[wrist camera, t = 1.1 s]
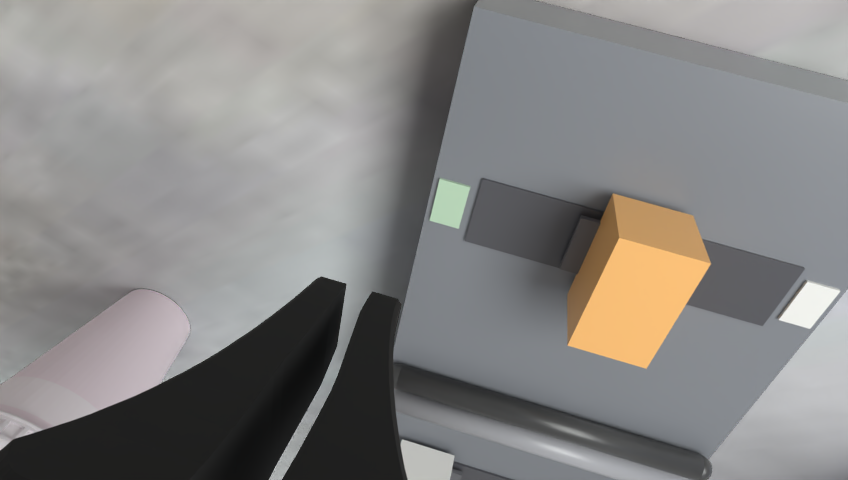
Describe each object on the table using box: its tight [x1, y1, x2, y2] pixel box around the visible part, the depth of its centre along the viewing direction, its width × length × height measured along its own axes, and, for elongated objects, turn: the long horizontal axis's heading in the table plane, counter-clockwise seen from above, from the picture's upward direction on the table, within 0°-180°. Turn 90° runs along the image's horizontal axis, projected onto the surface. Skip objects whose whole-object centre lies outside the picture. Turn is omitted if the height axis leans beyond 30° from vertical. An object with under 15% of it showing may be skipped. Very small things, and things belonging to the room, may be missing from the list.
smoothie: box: [0, 289, 190, 450], centre depth 23 cm, size 6×6×14 cm
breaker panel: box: [393, 0, 848, 480], centre depth 22 cm, size 13×24×4 cm, turn 168°
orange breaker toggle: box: [560, 194, 711, 369], centre depth 17 cm, size 4×4×3 cm
